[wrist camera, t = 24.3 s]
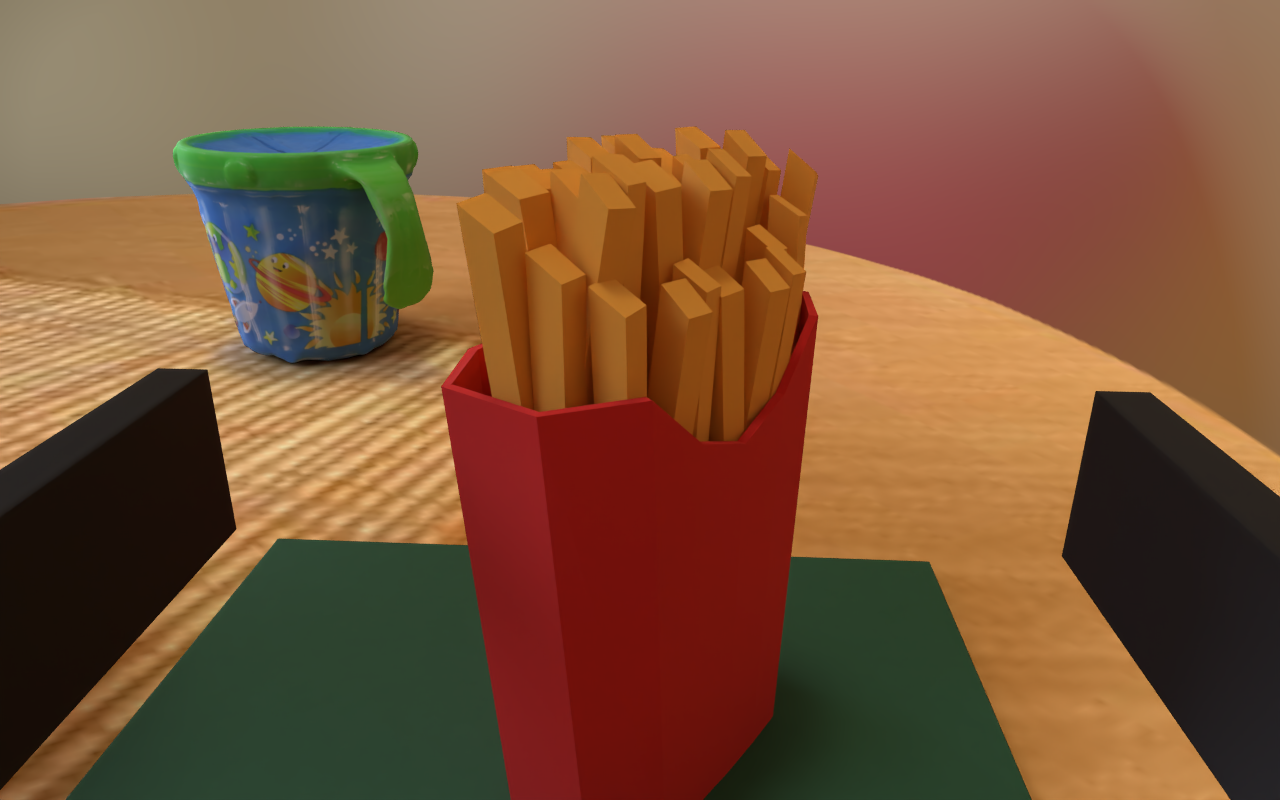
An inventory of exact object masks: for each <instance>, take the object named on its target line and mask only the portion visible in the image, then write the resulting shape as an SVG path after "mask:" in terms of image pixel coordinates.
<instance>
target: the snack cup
mask: <svg viewBox="0 0 1280 800" xmlns="http://www.w3.org/2000/svg"><path fill="white" fill-rule="evenodd" d="M173 158H174V163H175V166H176V168H177V170H178V171H179V173H180V174H181V175H182V176H183V177H184V178H185V180H186V182H187V183H188V184H189V186H190V187H191V188H192V190H193V192H194V194H195V196H196V198H197V200H198V204H199V210H200V214H201V217H202V220H203V223H204V225H205V228H206V232H207V236H208V239H209V242H210V245H211V248H212V252H213V255H214V258H215V261H216V264H217V267H218V270H219V273H220V275H221V278H222V282H223V285H224V288H225V291H226V294H227V297H228V300H229V302H230V304H231V308H232V312H233V316H234V319H235V323H236V325H237V327H238V330H239V333H240V335H241V338H242V340H243V343H244V345H245V346H246V347H249V348H250V349H252V350H253V351H255V352H257V353H260V354H263V355H275V356H277V357H279V358H281V359H283V360H285V361H287V362H290V363H296V362H298V361H301V360H327V361H329V360H336V359H342V358H349V357H352V356H355V355H364V354H366V353H368V352H370V351H371V350H373V348H376V347H379V346H381V345H382V344H384V343H385V342H387V341H388V340H389V339H390V338H391V337H392V336H393V335H394V333H395V331H396V330H397V327H398V316H399V309H402V308H405V307H407V306H410V305H413V304H416V303H418V302H420V301H421V300H422V299H423V298H424V297H425V296H426V294H427V293H428V292H429V291H430V289H431V285H432V278H433V267H432V262H431V256H430V253H429V249H428V245H427V242H426V239H425V235H424V231H423V228H422V224H421V221H420V217H419V213H418V209H417V206H416V202H415V198H414V194H413V192H412V190H411V187H410V186H409V183H408V179H409V178H410V176H411V175H412V172H413V168H414V167H415V165H416V162H417V159H418V150H417V146H416V143H415V142H414V141H413V140H412V138H411V137H409V136H408V135H405V134H403V133H399V132H394V131H387V130H378V129H365V128H352V127H279V128H258V129H241V130H231V131H221V132H213V133H206V134H199V135H195V136H191V137H188V138H184V139H182V140H180V141H179V142H178V143H177V145H176V147H175V148H174V151H173Z"/></svg>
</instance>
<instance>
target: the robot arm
mask: <svg viewBox="0 0 1280 800" xmlns="http://www.w3.org/2000/svg"><path fill="white" fill-rule="evenodd" d="M235 530H236V524H235V519H234V513H233V508H232V502H231V497H230V491H229V486H228V480H227V475H226V469H225V464H224V458H223V453H222V447H221V442H220V436H219V431H218V425H217V420H216V414H215V409H214V403H213V398H212V392H211V387H210V381H209V376H208V370H201V369H160V368H158V369H156V370H155V371H153V372H152V373H150V374H149V375H147V376H145V377H144V378H142V379H141V380H139V381H138V382H136V383H135V384H133V385H131V386H130V387H128V388H127V389H125V390H124V391H122V392H121V393H119V394H117V395H116V396H114V397H113V398H111V399H110V400H108V401H107V402H105V403H103V404H102V405H100V406H99V407H97V408H96V409H94V410H93V411H91V412H89V413H88V414H86V415H85V416H83V417H82V418H80V419H79V420H77V421H75V422H74V423H72V424H71V425H69V426H68V427H66V428H65V429H63V430H61V431H60V432H58V433H57V434H55V435H54V436H52V437H51V438H49V439H47V440H46V441H44V442H43V443H41V444H40V445H38V446H37V447H35V448H33V449H32V450H30V451H29V452H27V453H26V454H24V455H23V456H21V457H19V458H18V459H16V460H15V461H13V462H12V463H10V464H9V465H7V466H5V467H4V468H2V469H1V470H0V790H1V789H2V788H3V787H4V785H5V784H6V783H7V782H8V781H9V780H10V779H11V778H12V777H13V775H14V774H15V773H16V772H17V771H18V770H19V769H20V768H21V767H22V766H23V764H24V763H25V762H26V761H27V760H28V759H29V758H30V757H31V756H32V754H33V753H34V752H35V751H36V750H37V749H38V748H39V747H40V746H41V745H42V743H43V742H44V741H45V740H46V739H47V738H48V737H49V736H50V735H51V733H52V732H53V731H54V730H55V729H56V728H57V727H58V726H59V725H60V724H61V722H62V721H63V720H64V719H65V718H66V717H67V716H68V715H69V714H70V712H71V711H72V710H73V709H74V708H75V707H76V706H77V705H78V704H79V703H80V701H81V700H82V699H83V698H84V697H85V696H86V695H87V694H88V693H89V691H90V690H91V689H92V688H93V687H94V686H95V685H96V684H97V683H98V682H99V680H100V679H101V678H102V677H103V676H104V675H105V674H106V673H107V672H108V670H109V669H110V668H111V667H112V666H113V665H114V664H115V663H116V662H117V661H118V659H119V658H120V657H121V656H122V655H123V654H124V653H125V652H126V651H127V649H128V648H129V647H130V646H131V645H132V644H133V643H134V642H135V641H136V640H137V638H138V637H139V636H140V635H141V634H142V633H143V632H144V631H145V630H146V629H147V627H148V626H149V625H150V624H151V623H152V622H153V621H154V620H155V619H156V617H157V616H158V615H159V614H160V613H161V612H162V611H163V610H164V609H165V608H166V606H167V605H168V604H169V603H170V602H171V601H172V600H173V599H174V598H175V596H176V595H177V594H178V593H179V592H180V591H181V590H182V589H183V588H184V587H185V585H186V584H187V583H188V582H189V581H190V580H191V579H192V578H193V577H194V575H195V574H196V573H197V572H198V571H199V570H200V569H201V568H202V567H203V566H204V564H205V563H206V562H207V561H208V560H209V559H210V558H211V557H212V556H213V554H214V553H215V552H216V551H217V550H218V549H219V548H220V547H221V546H222V545H223V543H224V542H225V541H226V540H227V539H228V538H229V537H230V536H231V535H232V533H233V532H234V531H235ZM1062 557H1063V558H1064V560H1065V561H1066V563H1067V564H1068V566H1069V567H1070V569H1071V570H1072V571H1073V573H1074V574H1075V576H1076V577H1077V579H1078V580H1079V581H1080V583H1081V584H1082V586H1083V587H1084V589H1085V590H1086V592H1087V593H1088V594H1089V596H1090V597H1091V599H1092V600H1093V602H1094V603H1095V605H1096V606H1097V607H1098V609H1099V610H1100V612H1101V613H1102V615H1103V616H1104V618H1105V619H1106V620H1107V622H1108V623H1109V625H1110V626H1111V628H1112V629H1113V631H1114V632H1115V633H1116V635H1117V636H1118V638H1119V639H1120V641H1121V642H1122V644H1123V645H1124V646H1125V648H1126V649H1127V651H1128V652H1129V654H1130V655H1131V657H1132V658H1133V659H1134V661H1135V662H1136V664H1137V665H1138V667H1139V668H1140V670H1141V671H1142V672H1143V674H1144V675H1145V677H1146V678H1147V680H1148V681H1149V683H1150V684H1151V685H1152V687H1153V688H1154V690H1155V691H1156V693H1157V694H1158V696H1159V697H1160V698H1161V700H1162V701H1163V703H1164V704H1165V706H1166V707H1167V708H1168V710H1169V711H1170V713H1171V714H1172V716H1173V717H1174V719H1175V720H1176V721H1177V723H1178V724H1179V726H1180V727H1181V729H1182V730H1183V732H1184V733H1185V734H1186V736H1187V737H1188V739H1189V740H1190V742H1191V743H1192V745H1193V746H1194V747H1195V749H1196V750H1197V752H1198V753H1199V755H1200V756H1201V758H1202V759H1203V760H1204V762H1205V763H1206V765H1207V766H1208V768H1209V769H1210V771H1211V772H1212V773H1213V775H1214V776H1215V778H1216V779H1217V781H1218V782H1219V784H1220V785H1221V786H1222V788H1223V789H1224V791H1225V792H1226V794H1227V795H1228V797H1229V798H1230V799H1231V800H1280V497H1279V496H1278V495H1277V494H1275V493H1274V492H1273V491H1272V490H1271V489H1269V488H1268V487H1267V486H1266V485H1264V484H1263V483H1262V482H1261V481H1259V480H1258V479H1257V478H1256V477H1254V476H1253V475H1252V474H1251V473H1249V472H1248V471H1247V470H1246V469H1244V468H1243V467H1242V466H1241V465H1240V464H1238V463H1237V462H1236V461H1235V460H1233V459H1232V458H1231V457H1230V456H1228V455H1227V454H1226V453H1225V452H1223V451H1222V450H1221V449H1220V448H1218V447H1217V446H1216V445H1215V444H1213V443H1212V442H1211V441H1210V440H1209V439H1207V438H1206V437H1205V436H1204V435H1202V434H1201V433H1200V432H1199V431H1197V430H1196V429H1195V428H1194V427H1192V426H1191V425H1190V424H1189V423H1187V422H1186V421H1185V420H1184V419H1182V418H1181V417H1180V416H1179V415H1177V414H1176V413H1175V412H1174V411H1173V410H1171V409H1170V408H1169V407H1168V406H1166V405H1165V404H1164V403H1163V402H1161V401H1160V400H1159V399H1158V398H1156V397H1155V396H1154V395H1153V394H1151V393H1150V392H1110V391H1096V392H1095V397H1094V402H1093V407H1092V412H1091V417H1090V422H1089V427H1088V431H1087V436H1086V441H1085V446H1084V451H1083V456H1082V461H1081V465H1080V470H1079V475H1078V480H1077V485H1076V490H1075V495H1074V500H1073V504H1072V509H1071V514H1070V519H1069V524H1068V529H1067V534H1066V538H1065V543H1064V548H1063V553H1062Z"/></svg>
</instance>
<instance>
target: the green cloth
mask: <svg viewBox="0 0 1280 800" xmlns="http://www.w3.org/2000/svg"><path fill="white" fill-rule="evenodd" d="M66 800H511V798H510V792H509V786H508V780H507V774H506V768H505V762H504V756H503V750H502V744H501V738H500V732H499V726H498V720H497V714H496V709H495V703H494V697H493V691H492V685H491V679H490V673H489V667H488V661H487V655H486V649H485V643H484V637H483V631H482V625H481V619H480V613H479V607H478V602H477V596H476V590H475V584H474V578H473V572H472V566H471V560H470V554H469V548H468V545H443V544H415V543H387V542H358V541H330V540H302V539H277V541H276V542H275V543H274V544H273V546H272V547H271V548H270V549H269V551H268V552H267V553H266V554H265V555H264V557H263V558H262V559H261V560H260V562H259V563H258V564H257V565H256V566H255V568H254V569H253V570H252V571H251V573H250V574H249V575H248V576H247V578H246V579H245V580H244V581H243V582H242V584H241V585H240V586H239V587H238V589H237V590H236V591H235V592H234V593H233V595H232V596H231V597H230V598H229V600H228V601H227V602H226V603H225V605H224V606H223V607H222V608H221V609H220V611H219V612H218V613H217V614H216V616H215V617H214V618H213V619H212V620H211V622H210V623H209V624H208V625H207V627H206V628H205V629H204V630H203V632H202V633H201V634H200V635H199V636H198V638H197V639H196V640H195V641H194V643H193V644H192V645H191V646H190V647H189V649H188V650H187V651H186V652H185V654H184V655H183V656H182V657H181V659H180V660H179V661H178V662H177V663H176V665H175V666H174V667H173V668H172V670H171V671H170V672H169V673H168V674H167V676H166V677H165V678H164V679H163V681H162V682H161V683H160V684H159V686H158V687H157V688H156V689H155V690H154V692H153V693H152V694H151V695H150V697H149V698H148V699H147V700H146V701H145V703H144V704H143V705H142V706H141V708H140V709H139V710H138V711H137V713H136V714H135V715H134V716H133V717H132V719H131V720H130V721H129V722H128V724H127V725H126V726H125V727H124V728H123V730H122V731H121V732H120V733H119V735H118V736H117V737H116V738H115V740H114V741H113V742H112V743H111V744H110V746H109V747H108V748H107V749H106V751H105V752H104V753H103V754H102V755H101V757H100V758H99V759H98V760H97V762H96V763H95V764H94V765H93V767H92V768H91V769H90V770H89V771H88V773H87V774H86V775H85V776H84V778H83V779H82V780H81V781H80V782H79V784H78V785H77V786H76V787H75V789H74V790H73V791H72V792H71V794H70V795H69V796H68V797H67V798H66ZM703 800H1032V799H1031V797H1030V795H1029V792H1028V790H1027V788H1026V785H1025V783H1024V781H1023V778H1022V776H1021V774H1020V771H1019V769H1018V767H1017V764H1016V762H1015V760H1014V758H1013V755H1012V753H1011V751H1010V748H1009V746H1008V744H1007V741H1006V739H1005V737H1004V734H1003V732H1002V730H1001V727H1000V725H999V723H998V720H997V718H996V716H995V713H994V711H993V709H992V706H991V704H990V702H989V699H988V697H987V695H986V693H985V690H984V688H983V686H982V683H981V681H980V679H979V676H978V674H977V672H976V669H975V667H974V665H973V662H972V660H971V658H970V655H969V653H968V651H967V648H966V646H965V644H964V641H963V639H962V637H961V634H960V632H959V630H958V628H957V625H956V623H955V621H954V618H953V616H952V614H951V611H950V609H949V607H948V604H947V602H946V600H945V597H944V595H943V593H942V590H941V588H940V586H939V583H938V581H937V579H936V576H935V574H934V572H933V569H932V567H931V565H930V562H924V561H896V560H868V559H839V558H811V557H791V560H790V569H789V578H788V587H787V595H786V604H785V613H784V622H783V631H782V640H781V648H780V657H779V666H778V675H777V684H776V693H775V701H774V710H773V717H772V718H771V719H770V721H769V722H768V723H767V725H766V726H765V727H764V728H763V730H762V731H761V732H760V734H759V735H758V736H757V738H756V739H755V740H754V741H753V743H752V744H751V745H750V746H749V748H748V749H747V750H746V751H745V752H744V753H743V755H742V756H741V757H740V758H739V759H738V761H737V762H736V763H735V764H734V765H733V767H732V768H731V769H730V770H729V771H728V773H727V774H726V775H725V776H724V777H723V778H722V779H721V780H720V781H719V783H718V784H717V785H716V786H715V787H714V788H713V789H712V790H711V791H710V792H709V793H708V795H707V796H706V797H705V798H704V799H703Z"/></svg>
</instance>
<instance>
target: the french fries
mask: <svg viewBox="0 0 1280 800" xmlns="http://www.w3.org/2000/svg"><path fill="white" fill-rule="evenodd" d="M675 132H676V156H672V155H671V154H670V153H668V152H667V151H666V150H665V149H662V148H651V147H650V146H649V145H648V144H647V143H646V142H645V141H644V140H643V139H642V138H641V137H640V136H639V135H638V134H623V135H615V136H604V135H603V136H601V137H602V146H601V145H599V144H598V143H597V142H596V141H595V140H594V139H592V138H591V137H567V157H568V160H567V161H560V162H553V169H542V170H540V169H539V168H538V167H537V166H536V165H535V164H532V165H522V166H514V167H513V166H505V167H498V168H490V169H483V170H482V173H483V185H484V194H482V195H479V196H476V197H473V198H470V199H468V200H465V201H462V202H459V203H456V204H457V209H458V215H459V220H460V226H461V231H462V237H463V242H464V248H465V253H466V259H467V264H468V269H469V275H470V280H471V286H472V291H473V297H474V302H475V308H476V313H477V318H478V324H479V329H480V335H481V340H482V344H480V345H477V346H474V347H472V348H469V349H468V350H467V352H466V353H465V354H464V356H463V357H462V359H461V360H460V361H459V363H458V364H457V365H456V367H455V368H454V370H453V371H452V372H451V374H450V375H449V377H448V378H447V379H446V381H445V382H444V384H443V385H442V386H441V388H442V393H443V399H444V405H445V411H446V417H447V423H448V429H449V435H450V441H451V447H452V453H453V459H454V465H455V471H456V477H457V483H458V489H459V495H460V500H461V506H462V512H463V518H464V524H465V530H466V536H467V542H468V548H469V554H470V560H471V566H472V572H473V578H474V584H475V590H476V596H477V602H478V607H479V613H480V619H481V625H482V631H483V637H484V643H485V649H486V655H487V661H488V667H489V673H490V679H491V685H492V691H493V697H494V703H495V709H496V714H497V720H498V726H499V732H500V738H501V744H502V750H503V756H504V762H505V768H506V774H507V780H508V786H509V792H510V798H511V800H703V799H704V798H705V797H706V796H707V795H708V793H709V792H710V791H711V790H712V789H713V788H714V787H715V786H716V785H717V784H718V783H719V781H720V780H721V779H722V778H723V777H724V776H725V775H726V774H727V773H728V771H729V770H730V769H731V768H732V767H733V765H734V764H735V763H736V762H737V761H738V759H739V758H740V757H741V756H742V755H743V753H744V752H745V751H746V750H747V749H748V748H749V746H750V745H751V744H752V743H753V741H754V740H755V739H756V738H757V736H758V735H759V734H760V732H761V731H762V730H763V728H764V727H765V726H766V725H767V723H768V722H769V721H770V719H771V718H772V717H773V710H774V701H775V693H776V684H777V675H778V666H779V657H780V648H781V640H782V631H783V622H784V613H785V604H786V595H787V587H788V578H789V569H790V560H791V551H792V542H793V534H794V525H795V516H796V507H797V498H798V489H799V481H800V472H801V463H802V454H803V445H804V436H805V428H806V419H807V410H808V401H809V392H810V383H811V375H812V366H813V357H814V348H815V339H816V330H817V322H818V315H817V312H816V310H815V307H814V305H813V302H812V300H811V297H810V295H809V292H806V291H803V287H804V281H805V276H806V271H805V270H804V260H805V246H806V233H807V228H808V223H809V218H810V213H811V209H812V203H813V199H814V193H815V189H816V184H817V179H818V175H817V173H816V172H815V171H814V170H813V169H812V168H811V167H810V166H809V165H808V164H807V163H805V162H804V161H803V160H802V159H801V158H799V157H798V156H797V155H796V154H795V153H794V152H793V151H792V150H791V149H789V154H788V159H787V165H786V170H785V176H784V180H783V186H782V191H781V196H779V195H777V191H778V185H779V180H780V174H781V170H780V169H779V168H778V167H777V166H776V165H775V164H774V163H773V162H772V161H771V160H770V159H769V158H768V157H767V155H766V154H765V153H764V152H763V151H762V150H761V148H760V147H759V146H758V145H757V144H756V143H755V142H754V140H753V139H752V138H751V137H750V136H749V135H748V133H747V132H746V131H745V130H725V137H724V143H723V149H720V146H719V145H718V144H717V143H715V142H714V141H713V140H712V139H710V138H709V137H708V136H707V135H706V134H705V133H703V132H702V131H701V130H700V129H698V128H697V127H683V128H675Z"/></svg>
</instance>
